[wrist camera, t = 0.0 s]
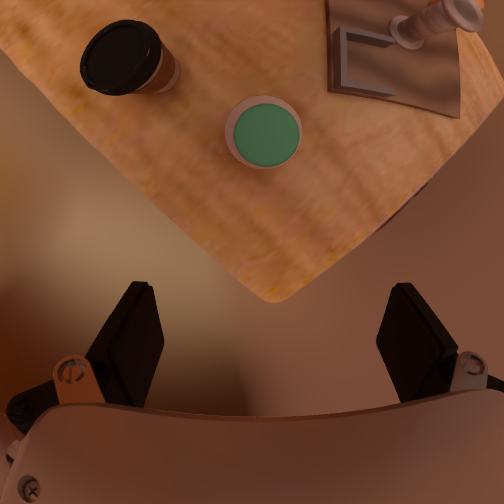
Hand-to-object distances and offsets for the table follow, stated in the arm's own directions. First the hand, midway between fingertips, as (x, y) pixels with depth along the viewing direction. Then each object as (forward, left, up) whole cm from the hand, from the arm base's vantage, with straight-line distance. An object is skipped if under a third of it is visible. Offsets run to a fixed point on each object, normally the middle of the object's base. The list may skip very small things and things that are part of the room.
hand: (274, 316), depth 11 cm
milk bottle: (-6, 0, -31) cm, 32 cm away
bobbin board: (-23, +20, -31) cm, 44 cm away
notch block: (-16, +14, -29) cm, 36 cm away
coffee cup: (-15, -14, -31) cm, 38 cm away
